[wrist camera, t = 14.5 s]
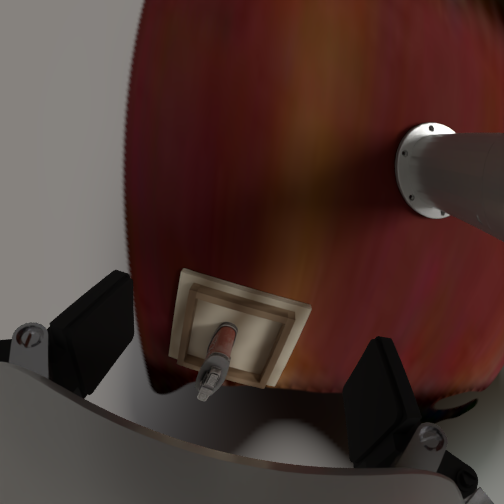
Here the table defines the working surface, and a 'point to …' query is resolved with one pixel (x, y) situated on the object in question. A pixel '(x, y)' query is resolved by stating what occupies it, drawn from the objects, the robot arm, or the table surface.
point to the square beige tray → (247, 321)
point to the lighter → (216, 360)
